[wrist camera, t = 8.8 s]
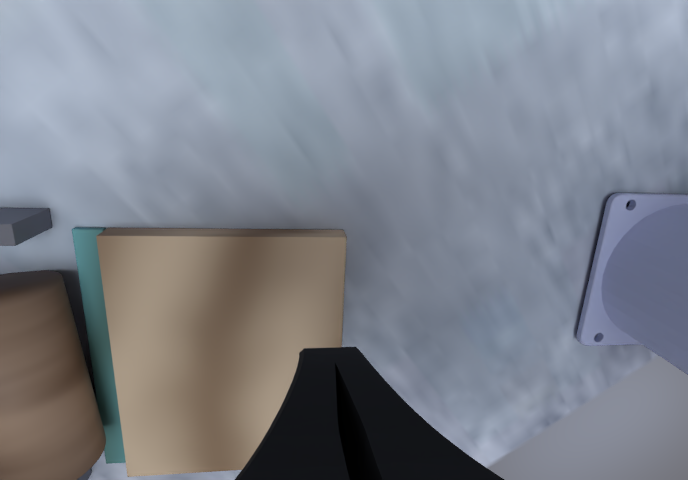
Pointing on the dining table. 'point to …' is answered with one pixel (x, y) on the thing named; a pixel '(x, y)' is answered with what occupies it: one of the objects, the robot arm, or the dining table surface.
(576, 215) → the dining table surface
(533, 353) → the dining table surface
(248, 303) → the tan flat square slab
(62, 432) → the roller
